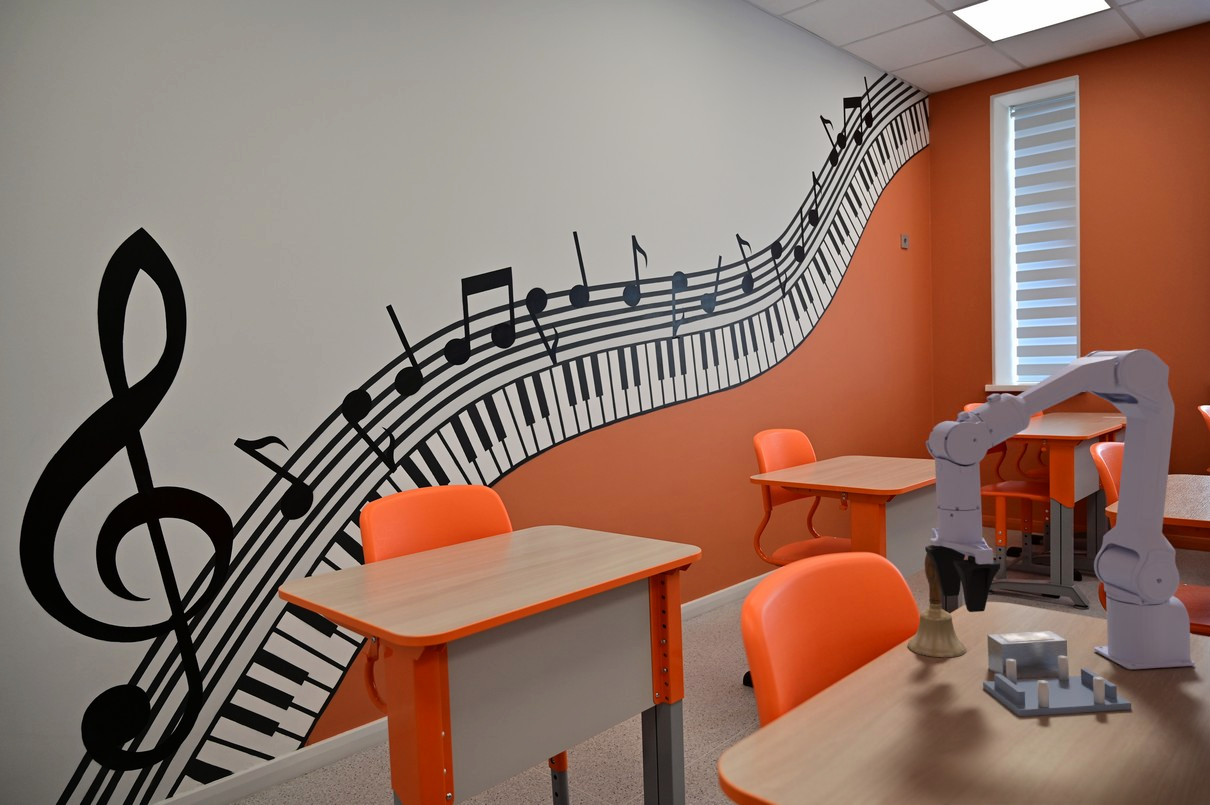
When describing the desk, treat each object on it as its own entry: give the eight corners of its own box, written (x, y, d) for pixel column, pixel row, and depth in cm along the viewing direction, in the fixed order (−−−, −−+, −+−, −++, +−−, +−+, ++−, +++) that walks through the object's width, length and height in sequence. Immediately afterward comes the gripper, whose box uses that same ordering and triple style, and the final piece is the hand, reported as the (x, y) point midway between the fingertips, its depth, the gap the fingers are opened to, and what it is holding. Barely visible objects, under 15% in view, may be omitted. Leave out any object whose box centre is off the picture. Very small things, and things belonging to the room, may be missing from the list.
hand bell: (975, 656, 120) (972, 549, 119) (919, 659, 120) (915, 552, 119) (953, 638, 128) (949, 537, 127) (900, 640, 128) (896, 540, 128)
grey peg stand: (1086, 681, 109) (1085, 653, 109) (1131, 709, 100) (1130, 679, 100) (983, 687, 109) (982, 659, 108) (1019, 716, 100) (1018, 686, 99)
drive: (1051, 665, 115) (1050, 630, 115) (1067, 676, 111) (1066, 639, 111) (988, 669, 115) (987, 634, 115) (1003, 680, 111) (1001, 643, 111)
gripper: (909, 500, 121) (913, 590, 121) (954, 518, 106) (958, 620, 107) (956, 497, 121) (960, 587, 122) (1007, 514, 106) (1011, 617, 107)
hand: (962, 602), depth 114 cm, fingers open, 7 cm apart
